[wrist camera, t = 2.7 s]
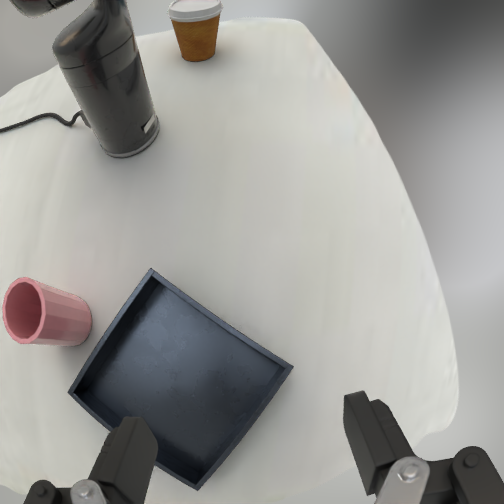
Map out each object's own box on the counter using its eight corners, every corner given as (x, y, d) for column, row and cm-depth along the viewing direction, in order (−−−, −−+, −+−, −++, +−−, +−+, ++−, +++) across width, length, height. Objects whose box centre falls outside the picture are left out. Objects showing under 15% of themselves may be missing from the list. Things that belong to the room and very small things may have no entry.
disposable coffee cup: (231, 45, 46) (232, -4, 34) (209, 70, 43) (207, 14, 32) (188, 39, 46) (184, -7, 35) (164, 63, 44) (155, 12, 32)
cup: (44, 323, 29) (-5, 313, 20) (68, 284, 31) (22, 264, 22) (75, 356, 29) (26, 357, 19) (100, 316, 30) (55, 305, 21)
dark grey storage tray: (84, 388, 28) (67, 392, 23) (160, 276, 32) (150, 267, 28) (201, 474, 26) (197, 491, 21) (286, 363, 30) (294, 366, 26)
